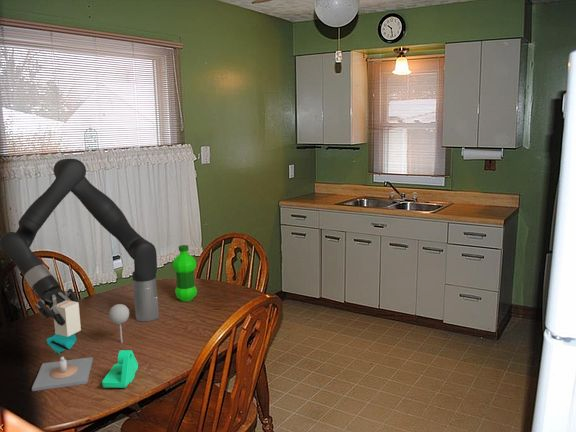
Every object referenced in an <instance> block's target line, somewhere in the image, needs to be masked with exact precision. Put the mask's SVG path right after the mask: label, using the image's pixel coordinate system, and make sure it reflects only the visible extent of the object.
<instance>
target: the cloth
mask: <svg viewBox="0 0 576 432" xmlns="http://www.w3.org/2000/svg"><path fill="white" fill-rule="evenodd" d="M76 334H77V332H76V333H74V334H72V335H70V336H68V337H66V336H62V335H58V334H53V335H51V336H50V337H48V338H46V339H45V342H46V343H47V345H48V346H49V347H50V348H51V349H52V350H54V351H55V353H57V354H58V355H60V353H61V352H64V351H65V350H66V349H68V350H71V349H72V347H73V346H74V344H75V343H76V342H77V336H76Z"/></svg>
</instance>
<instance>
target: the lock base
mask: <svg viewBox="0 0 576 432" xmlns="http://www.w3.org/2000/svg"><path fill="white" fill-rule="evenodd" d="M93 358H94V357H91V356H90V357H83V358H75V359H68V360H67V358H65V356H60V358H59V360H58V361H51V362H44V363H43V362H42V365H41V366H40V368H39V371H38V373H37V374H36V375H37V376H36V378H35V379H34V382H33V384H32V387H31V391H32V392H36V391H43V390H50V389H57V388H59V389H60V388H66V387H73V386H81V385H86V384H88V383H89V382H88V381H89V377H90V373H91V369H92V365H93V361H94V359H93Z"/></svg>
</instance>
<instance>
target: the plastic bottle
mask: <svg viewBox="0 0 576 432" xmlns="http://www.w3.org/2000/svg"><path fill="white" fill-rule="evenodd" d="M178 251H179V255H177V256H176V257H175V258H174V259H173V260H172V268H173V270H174V272H175V274H176V275H175V276H176V287H175V290H174V293H175V296H176V298H177V300H180V301H181V302H190V301H192V300H193V299H194V298H195V297H196V296H197V294H198V289H197V287H196V285H195V272H194V271H195V270H196V269H197V261H196V260H195V259H196V258H195V257H194V256H193V255H191V254H189V253H188V251H189V245H187V244H182V245H179V246H178Z"/></svg>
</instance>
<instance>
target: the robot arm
mask: <svg viewBox="0 0 576 432" xmlns="http://www.w3.org/2000/svg"><path fill="white" fill-rule="evenodd" d="M53 174H54V175H53V176H54V177H55V179H54V181H53V182H52V183H51V184H50V186H49V187H48V188H47V189H46V190H45V191H44V192H43V193H42V194H41V195H40V196H39V197H38V198H36V199H35V200H34V201H33V202H32V204H30V205H29V207H28V208H27V209H26V211H25V212H24V214H23V215H22V216H21V217H20V219H19V220H18V228H17V230H16V232H15V231H8V232H5V233H4V234H2V236H1V237H0V248H1V250H2V251H3V252H4V253H5V254H6V256H7V257H8V258H9V260H11V261H12V262H13V263H14V265H15V266H16V267H17V269H18V270H19V271H20V273H21V275H22V276H23V278H24V279H25V281H26V283H27V284H28V285H29V287H30V288H31V289H32V291H33V293H35V295H36V296H37V298H38V299H40V300H38V301H37V303H36V304H35V305H34V308H36V309H37V311H39V312H40V313H41V314H42V315H43V316H44V317H45V318H46V319H49V318H53V320H54V319H55V321H56V322H57V323H58V324H59V325H61V326H62V325H64V324H65V320H64V319H63V317H62V316H61V315H60V313H59V314H58V310H57V309H56V306H57V304H59V303H61V302H64V301H69V300H70V301H74V302H79V300H78V298H77V296H76V294H75V292H74V291H73V289H72V288H69V289H68V290H63V289H62V288H61V285H60V283H59V282H58V280H57V279H56V277H54V275H53V274H52V272H51V271H50V270H49V269H48V268H47V267H46V265H44V264H43V262H42V261H41V259H40V258H39V257H38V256H37V254H35V253H34V252H33V251H32V249H30V247H31V246H32V244H33V242H34V240H35V238H36V237H37V233H38V232H39V230H40V229H41V228H42V227H43V225H44V224H45V223H46V221H47V220H48V218H49V217H50V216H51V215H52V213H53V212H54V211H55V209H56V208H57V207H58V206H59V205H60V203H62V201H63V200H64V199H65V198H66V197H67V195H68V194H70V193H72V194H73V195H74V196H75V197H76V198H77V199H78V200H79V202H81V204H82V205H83V207H85V209H86V210H87V211H88V213H90V214H91V216H92V217H94V219H95V220H96V221H97V222H98V224H100V225H101V226H102V227H103V228H104V229H105V230H106V231H107V232H108V233H109V234H110V235H112V236H113V237H115V238H116V240H117V241H118V242H119V243H120V244H121V245H122V247H123V248H124V249H125V251H126V252H127V254H128V255H129V257H130V258H131V259H132V260H133V265H134V271H132V273H131V275H132V276H131V277H132V286H133V287H132V288H133V289H132V290H133V300H134V310H135V311H134V313H135V314H134V315H135V320H136V321H137V322H138V321H139V322H152V321H155V320H158V319H160V315H159V314H160V313H159V312H160V311H159V298H158V288H157V271H158V260H157V259H158V258H157V257H158V256H157V248H156V247H155V244H154V243H152V242H150V241H149V240H146V238H144V237H142V235H140V234H139V233H138V232H137V231H136V230H135V229H134V228H133V227H132V226H131V224H130V223H129V221H128V219H127V218H126V217H127V216H126V215H125V214H124V213H123V211H122V209H121V208H119V206H118V205H117V204H116V203H115V201H113V200H112V199H111V197H109V196H108V195H106V193H104V192H103V191H101V190H100V189H98V188H97V187H95V186H94V185H93V184H92V183H91V182H90V181H89V180H88V179H87V178H86V175H87V169H86V166H85V164H84V162H82V161H81V160H80V159H77V158H62V159H60V160H57V161H56V163H55V164H54V166H53ZM53 311H54V312H53ZM79 313H80V314H81V312H80V311H79Z"/></svg>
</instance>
